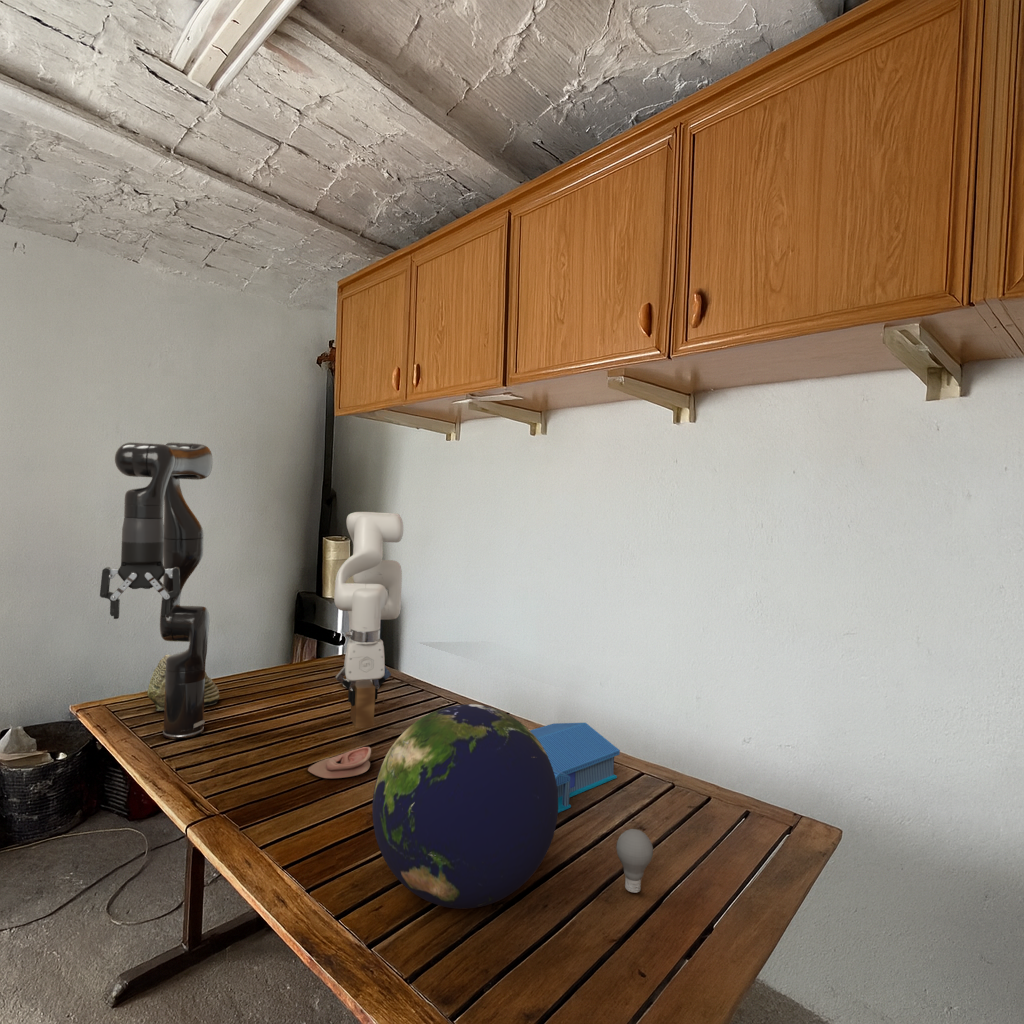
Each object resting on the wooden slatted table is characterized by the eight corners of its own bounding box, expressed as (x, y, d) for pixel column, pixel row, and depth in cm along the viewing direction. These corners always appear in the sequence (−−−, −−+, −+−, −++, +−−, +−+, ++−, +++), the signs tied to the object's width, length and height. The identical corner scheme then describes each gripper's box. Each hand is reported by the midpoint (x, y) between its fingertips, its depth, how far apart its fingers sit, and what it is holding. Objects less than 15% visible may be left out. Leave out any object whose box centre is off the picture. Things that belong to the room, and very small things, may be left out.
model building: (501, 837, 120) (504, 785, 120) (427, 790, 139) (429, 744, 138) (628, 782, 147) (630, 739, 147) (552, 748, 165) (553, 710, 165)
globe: (328, 919, 95) (336, 721, 95) (427, 827, 123) (434, 674, 122) (512, 985, 84) (522, 760, 83) (576, 867, 112) (584, 698, 111)
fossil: (144, 707, 182) (145, 655, 182) (212, 696, 194) (213, 647, 194) (151, 716, 175) (153, 662, 175) (221, 703, 188) (223, 653, 188)
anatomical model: (301, 757, 143) (326, 739, 154) (300, 775, 143) (325, 755, 154) (355, 765, 140) (377, 746, 152) (355, 783, 140) (376, 762, 152)
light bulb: (610, 879, 108) (613, 822, 108) (644, 879, 109) (647, 822, 109) (619, 902, 102) (622, 840, 102) (655, 901, 103) (658, 840, 103)
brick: (355, 728, 164) (357, 688, 164) (350, 717, 171) (351, 680, 171) (373, 726, 166) (375, 687, 166) (367, 716, 173) (369, 678, 173)
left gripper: (99, 540, 125) (96, 622, 125) (180, 541, 131) (178, 619, 131) (105, 537, 131) (103, 615, 132) (182, 538, 137) (180, 613, 138)
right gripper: (334, 640, 161) (332, 711, 162) (400, 637, 168) (397, 704, 169) (330, 633, 168) (327, 701, 168) (393, 630, 175) (390, 695, 175)
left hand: (140, 617), depth 131 cm, fingers open, 8 cm apart
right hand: (362, 702), depth 168 cm, fingers closed on brick, 4 cm apart
